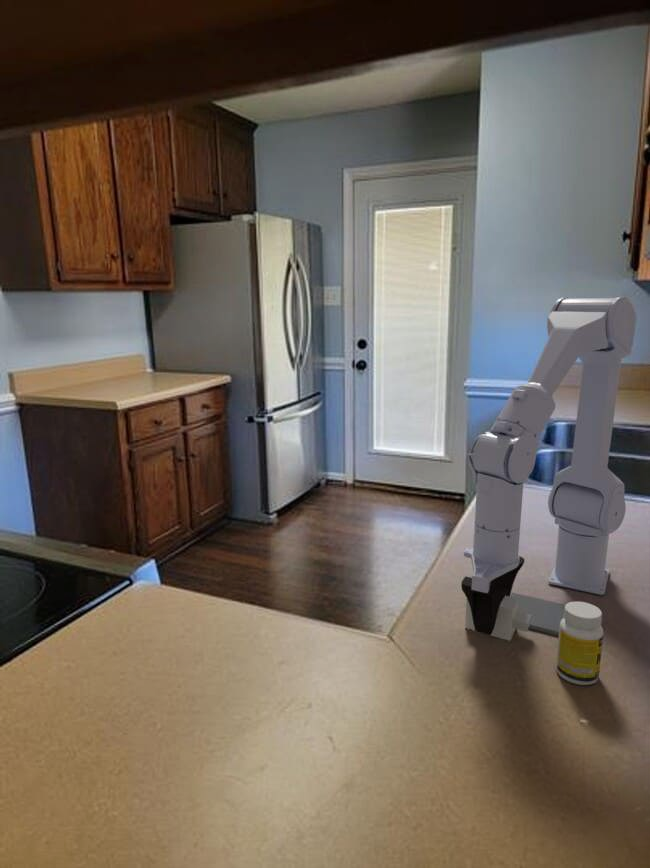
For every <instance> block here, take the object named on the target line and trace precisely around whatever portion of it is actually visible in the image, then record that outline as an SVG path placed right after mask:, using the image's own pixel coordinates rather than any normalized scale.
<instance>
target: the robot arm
mask: <svg viewBox="0 0 650 868" xmlns="http://www.w3.org/2000/svg"><path fill="white" fill-rule="evenodd" d="M636 322H637V313H636V311H635V307H634V305H633V304H632V302H631V300H630V299H629V297H626V296H618V297H596V298H595V297H593V298H591V297H588V298H586V297H585V298H579V297H577V298H576V297H575V298H574V297H573V298H570V297H560V298H558V299H557V300H556V301H555V303H554V304H553V305H552V308H551V310H550V311H549V315H547V321H546V328H547V336H548V338H547V340H546V342H545V344H544V346H543V349H542V351H541V352H540V355H539V358H538V360H537V362H536V364H535V366H534V368H533V371H532V373H531V374H530V377H529V379H528V381H527V383H524V384H520V385H517V386H516V387H515V388H514V389H513V391H511V394H510V395H509V396H508V399H507V401H506V402H505V404H504V405H503V408H502V409H501V411H500V413H499V414H498V417H497V418H496V419H495V421H494V422H493V425H492V427H491V428H490V430H489V431H485V432H484V434H483V433H482V434H480V435H478V436H477V437H476V438H475V439H474V441H473V442H472V445H471V448H470V452H469V453H468V454H467V461H468V462H467V463H468V466H469V467H468V468H469V469H470V471H471V472H472V484H473V486H474V487H475V488H476V490H475V491H476V492H475V506H474V507H475V511H474V525H473V526H474V528H473V529H474V531H473V547H471V546H470V547H469V546H468V547H466V548H465V549H464V551H463V556H464V557H465V558H468V559H470V560H471V564H472V565H471V566H472V571H473V573H472V576H465V577H463V579H462V580H461V584H460V585H461V590H462V592H463V594H464V596H465V597H466V601H467V600H468V602H469V605H470V608H471V613H472V618H473V623H474V628H475V631H474V632H476V633H480V634H484V635H488V636H491V634H492V632H493V630H494V627H495V623H496V618H497V614H498V610H499V607H500V604H501V602H502V600H503V598H504V597H505V596H511V594H512V590H513V587H514V583H515V580H516V577H517V575H518V572H520V570H521V568H523V566H524V564H525V558H524V557H522V556H520V555H519V550H520V548H519V547H520V533H521V521H522V520H521V519H522V508H523V507H522V505H523V493H524V482H526V480H527V479H528V478H529V477H530V475H531V474H532V473H533V471H534V467H535V464H536V460H537V459H536V458H537V454H538V450H539V447H540V446H539V445H540V443H539V442H538V440H539V438H540V436H541V435H542V433H543V432H544V429H545V428H546V425H547V424H548V422H549V420H550V419H551V416H553V413H554V411H555V409H556V401H555V399H554V398H553V395H554V393H555V392H556V391H557V389H558V387H559V386H560V385H561V384H562V382H563V380H564V379H565V377H566V376H567V374H568V373H569V371H570V370H571V369H572V368H573V366H574V365H575V363H576V361H578V359H579V360H580V361H581V363H582V371H581V380H580V389H579V395H578V396H579V397H578V405H577V414H576V421H575V429H574V437H573V438H574V439H573V446H572V455H571V463H570V465H569V466H567V467H565V468H564V469H561V470H560V471H558V472H557V473H556V474H555V476H554V481H553V485H552V487H551V489H550V491H549V495H548V499H547V507H548V508H547V509H548V511H549V514H550V516H552V517H553V518H554V524H556V525H558V533H557V545H556V555H555V564H554V567H553V568H552V571H551V574H550V576H549V578H548V584H550V585H553V586H558V587H564V588H567V589H573V590H576V591H581V592H586V593H590V594H594V595H595V594H596V595H599V596H604V595H605V592H606V588H607V583H608V578H609V574H610V569H609V568H606V566H607V565H606V564H607V554H608V545H609V535H610V534H612V533H614V532H616V531H617V530H618V529H619V528H620V527H621V525H622V523H623V521H624V518H625V514H626V506H627V505H626V501H625V484H624V482H623V481H622V480H621V479H620V478H619V477H618V476H616V474H615V473H613V472H612V470H610V468H608V467H609V466H608V464H609V457H610V451H611V450H610V448H611V443H612V434H613V426H614V420H615V419H614V418H615V411H616V404H617V397H618V388H619V380H620V374H621V373H620V372H621V364H622V359H625V358H628V357H629V356H631V354H632V350H633V349H632V348H633V344H634V339H635V333H636V330H635V329H636Z"/></svg>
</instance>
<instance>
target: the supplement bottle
mask: <svg viewBox="0 0 650 868" xmlns="http://www.w3.org/2000/svg"><path fill="white" fill-rule="evenodd" d="M564 605H565V609H564V618H563V619H562V620H561V622H560V626H559V636H558V637H557V638H558V639H557V650H556V661H555V670H556V673H557V674H558V675H559V677H561V679H563V680H565V681H567V682H569V683H572V684H575V685H580V686H588V685H589V686H590V685H593V684H595V683H597V682H598V680H599V676H600V669H601V661H602V659H601V658H602V650H603V640H604V629H603V627H602V622H603V620H602V618H603V613H602V610H601V609H600V608H599V607H598V606H596V605H594V604H591V603H589V602H585V601H569V602H567V603H566V604H564Z"/></svg>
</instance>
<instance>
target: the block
mask: <svg viewBox="0 0 650 868" xmlns="http://www.w3.org/2000/svg"><path fill="white" fill-rule="evenodd" d="M510 596H511V595H510ZM510 596H505V597H504V598H503V600H502V602H501V604H500V607H499V610H498V614H497V618H496V623H495V627H494V630H493V632H492V634H491V635H490V637H491V636H492V637H496V638H498V637H499V638H500V639H503V640H505V641H509V642H511V640H512V638H513V635H514V634H515V632H516V630H518V631H520V632H521V631H522V632H526V633H527V632H528V630H529V629H530V628H529V626H530V624H531V615H529V614H525V613H521V612H517V610H518V598H514V597H510ZM465 607H466V608H465V624H464V629H465V628H468V629H467V630H469V629H472V630H471V631H473V630H475V628H474V623H473V618H472V613H471V608H470V605H469V602H468V600H467V599H466V605H465ZM499 638H498V639H499Z"/></svg>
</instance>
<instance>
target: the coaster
mask: <svg viewBox="0 0 650 868" xmlns="http://www.w3.org/2000/svg"><path fill="white" fill-rule="evenodd" d="M510 597H514V598H518V610H517V612H521V613H525V614H529V615H531V624H530V626H529V628H528V629H531V630H534V631H537V632H542V633H545V634H548V635H549V634H550V635H552V636H556V637H557V636H558V637H559V626H560V622H561V620H562V619H563V618H564V609H565V605H566V604H564V603H559V602H555V601H550V600H546V599H542V598H538V597H534V596H529V595H526V594H525V595H524V594H521V593H516V592H512V591H511V594H510Z"/></svg>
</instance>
